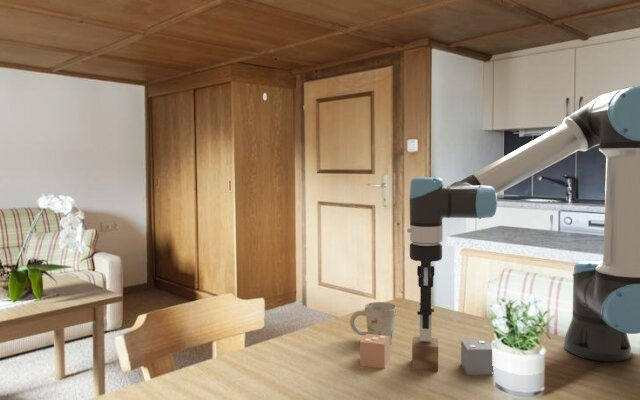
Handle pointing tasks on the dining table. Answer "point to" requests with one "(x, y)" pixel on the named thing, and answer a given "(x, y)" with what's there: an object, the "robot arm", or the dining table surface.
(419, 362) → the walnut block
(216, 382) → the dining table surface
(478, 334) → the dining table surface
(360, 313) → the mug
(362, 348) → the terracotta block
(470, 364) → the slate block
